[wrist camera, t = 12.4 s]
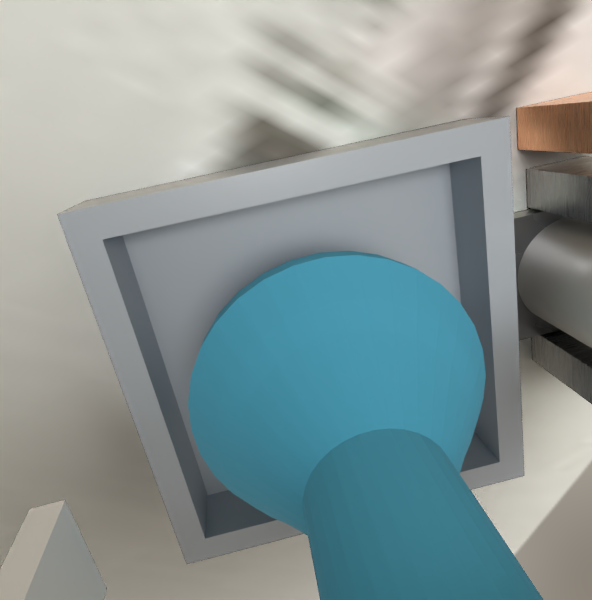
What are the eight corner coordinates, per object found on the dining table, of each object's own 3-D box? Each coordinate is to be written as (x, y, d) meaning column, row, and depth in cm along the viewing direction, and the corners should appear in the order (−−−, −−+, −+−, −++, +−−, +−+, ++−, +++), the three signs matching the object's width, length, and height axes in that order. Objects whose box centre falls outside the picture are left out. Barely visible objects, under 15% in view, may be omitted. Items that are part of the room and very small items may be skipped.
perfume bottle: (423, 206, 18) (1102, 470, 4) (432, 417, 21) (831, 982, 7) (175, 245, 17) (-66, 731, 3) (222, 457, 21) (202, 1170, 6)
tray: (191, 508, 22) (186, 564, 19) (85, 200, 17) (57, 214, 14) (487, 433, 23) (524, 475, 20) (465, 119, 18) (509, 116, 15)
